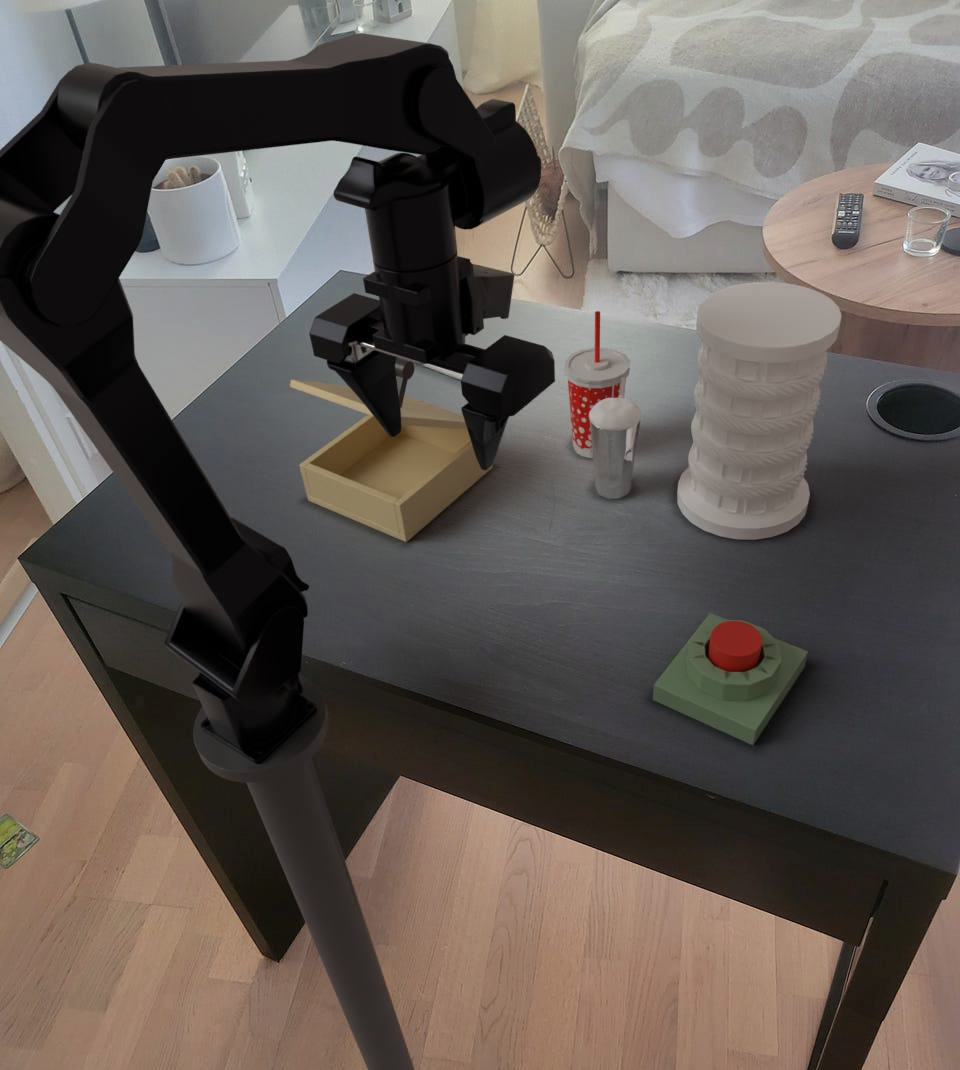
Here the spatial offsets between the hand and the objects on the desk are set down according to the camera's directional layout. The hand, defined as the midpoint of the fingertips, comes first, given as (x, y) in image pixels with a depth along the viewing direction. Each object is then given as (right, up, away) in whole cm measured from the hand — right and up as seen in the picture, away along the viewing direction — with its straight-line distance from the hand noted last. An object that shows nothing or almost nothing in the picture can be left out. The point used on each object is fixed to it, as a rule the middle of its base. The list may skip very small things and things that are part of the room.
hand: (440, 450), depth 75 cm
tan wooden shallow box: (-5, 0, +18) cm, 18 cm away
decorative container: (+27, -2, +12) cm, 30 cm away
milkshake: (+16, -1, +15) cm, 22 cm away
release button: (+22, -16, -6) cm, 27 cm away
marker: (0, +15, +32) cm, 35 cm away
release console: (+22, -18, -4) cm, 29 cm away
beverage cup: (+15, +4, +20) cm, 25 cm away
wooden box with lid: (-5, +6, +12) cm, 15 cm away
